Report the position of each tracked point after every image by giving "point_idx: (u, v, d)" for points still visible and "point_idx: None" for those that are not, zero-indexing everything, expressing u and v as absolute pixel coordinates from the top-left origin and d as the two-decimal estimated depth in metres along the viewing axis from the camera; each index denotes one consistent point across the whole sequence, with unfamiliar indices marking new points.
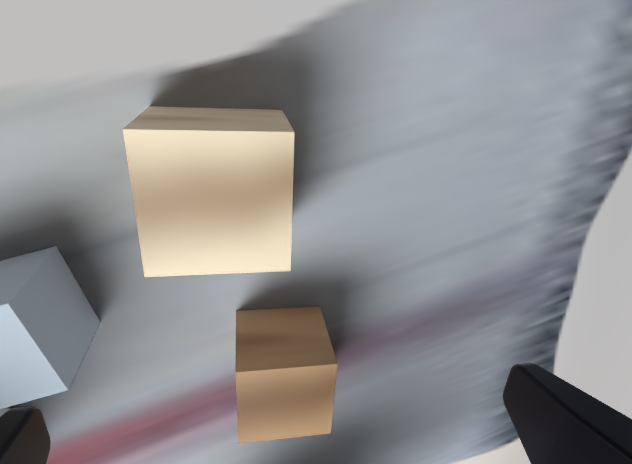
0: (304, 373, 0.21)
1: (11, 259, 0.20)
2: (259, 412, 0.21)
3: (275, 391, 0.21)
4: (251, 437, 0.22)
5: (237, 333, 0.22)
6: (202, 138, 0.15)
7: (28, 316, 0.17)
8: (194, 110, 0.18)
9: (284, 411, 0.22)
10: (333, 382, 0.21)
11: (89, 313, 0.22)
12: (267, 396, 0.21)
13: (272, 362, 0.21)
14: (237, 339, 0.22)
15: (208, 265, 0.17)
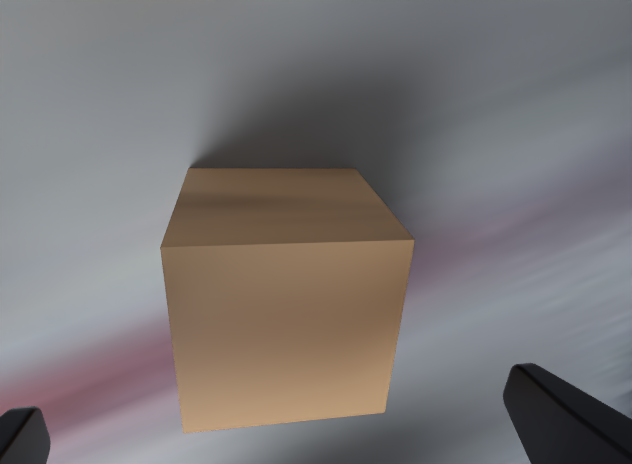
0: (336, 261, 0.08)
1: None
2: (227, 359, 0.09)
3: (264, 305, 0.09)
4: (210, 418, 0.10)
5: (183, 192, 0.10)
6: None
7: None
8: None
9: (287, 358, 0.09)
10: (400, 291, 0.09)
11: None
12: (244, 320, 0.09)
13: (257, 233, 0.08)
14: (180, 200, 0.10)
15: None
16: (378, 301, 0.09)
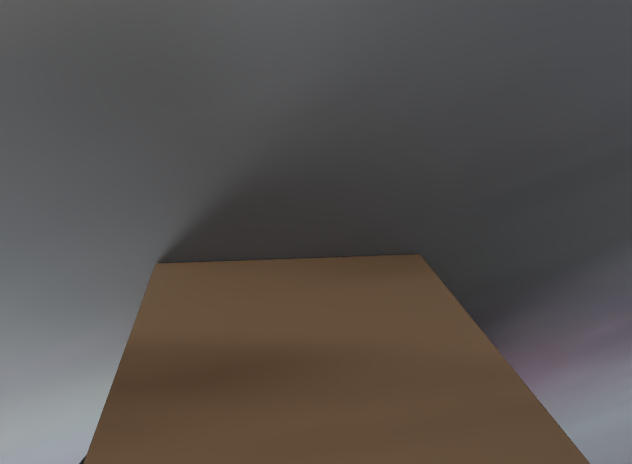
0: None
1: None
2: None
3: None
4: None
5: (133, 342, 0.06)
6: None
7: None
8: None
9: None
10: None
11: None
12: None
13: None
14: (124, 369, 0.05)
15: None
16: None
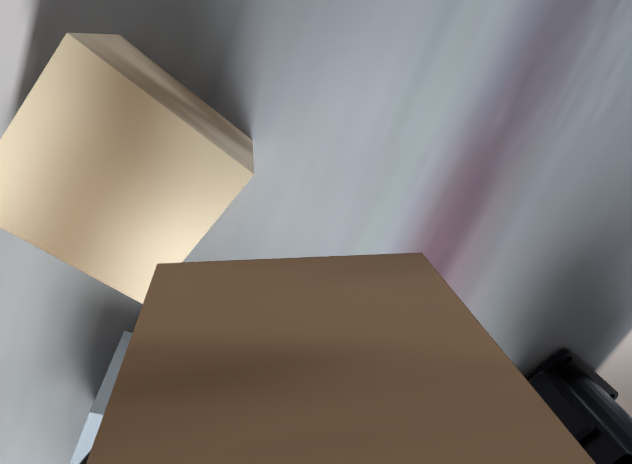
0: None
1: None
2: None
3: None
4: None
5: (135, 343, 0.06)
6: (14, 140, 0.11)
7: None
8: None
9: None
10: None
11: None
12: None
13: None
14: (126, 369, 0.05)
15: (178, 245, 0.14)
16: None
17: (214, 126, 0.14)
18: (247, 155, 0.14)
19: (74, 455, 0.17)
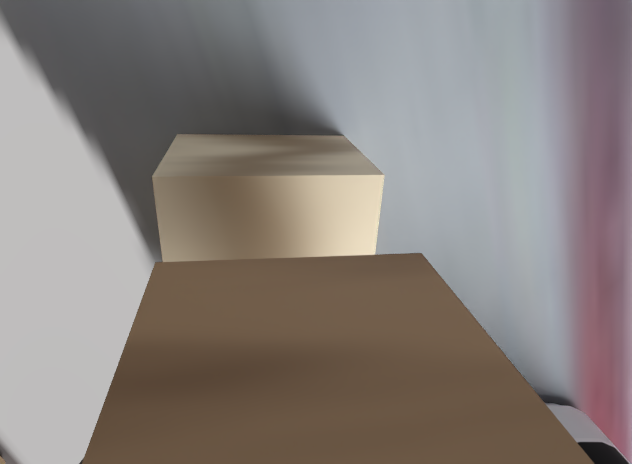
0: None
1: None
2: None
3: None
4: None
5: (132, 342, 0.05)
6: None
7: None
8: None
9: None
10: None
11: None
12: None
13: None
14: (123, 369, 0.05)
15: None
16: None
17: (311, 153, 0.13)
18: (359, 157, 0.13)
19: None
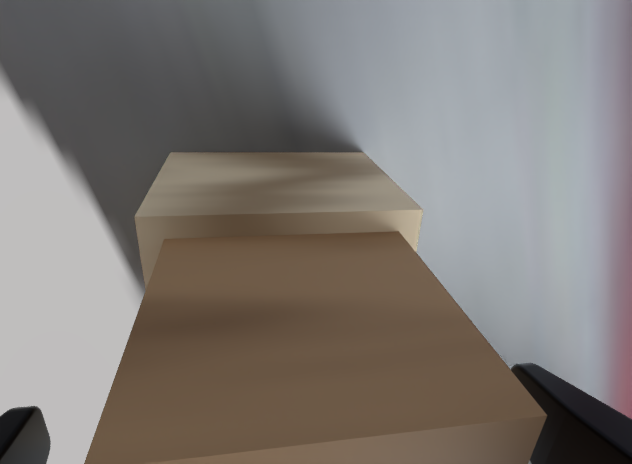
0: (409, 459, 0.05)
1: None
2: None
3: None
4: None
5: (148, 298, 0.07)
6: None
7: None
8: None
9: None
10: None
11: None
12: None
13: (268, 412, 0.05)
14: (141, 318, 0.06)
15: None
16: None
17: (329, 179, 0.11)
18: (387, 184, 0.11)
19: None
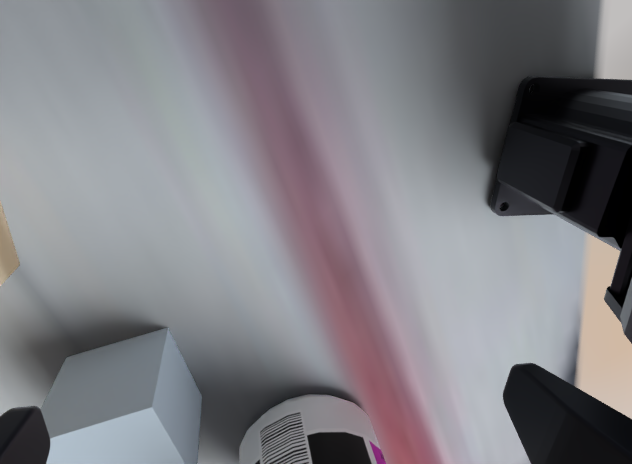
0: None
1: None
2: None
3: None
4: None
5: None
6: None
7: (56, 425, 0.16)
8: None
9: None
10: None
11: (145, 340, 0.20)
12: None
13: None
14: None
15: None
16: None
17: None
18: None
19: None
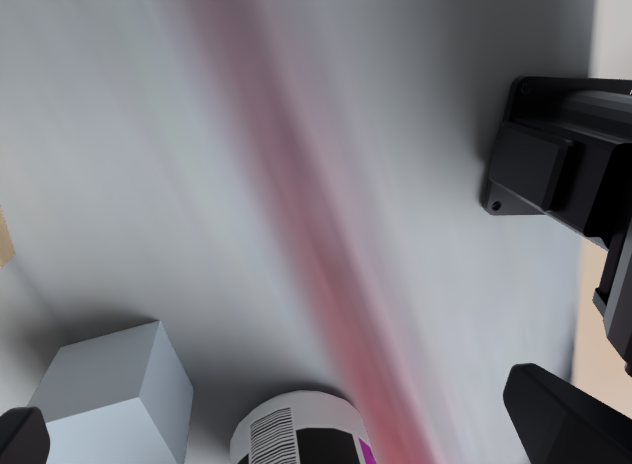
0: None
1: None
2: None
3: None
4: None
5: None
6: None
7: (45, 413, 0.17)
8: None
9: None
10: None
11: (137, 332, 0.20)
12: None
13: None
14: None
15: None
16: None
17: None
18: None
19: None
